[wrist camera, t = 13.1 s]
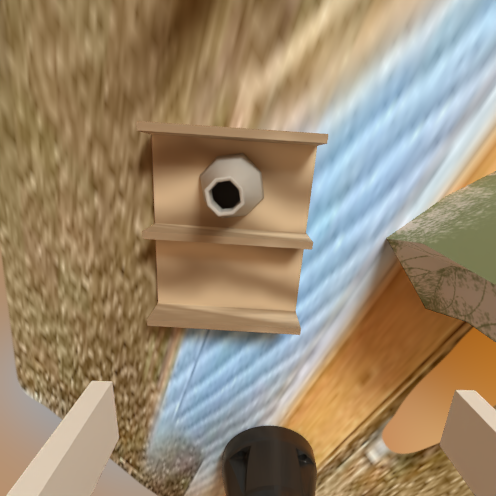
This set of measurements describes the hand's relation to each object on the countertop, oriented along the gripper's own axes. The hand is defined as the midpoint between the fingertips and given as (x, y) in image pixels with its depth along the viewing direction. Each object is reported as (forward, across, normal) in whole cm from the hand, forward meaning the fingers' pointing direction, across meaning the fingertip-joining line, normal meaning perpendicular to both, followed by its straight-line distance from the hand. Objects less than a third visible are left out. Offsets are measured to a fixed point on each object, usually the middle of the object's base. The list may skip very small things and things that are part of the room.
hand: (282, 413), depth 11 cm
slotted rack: (+25, +3, -2) cm, 25 cm away
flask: (+24, +3, -7) cm, 25 cm away
